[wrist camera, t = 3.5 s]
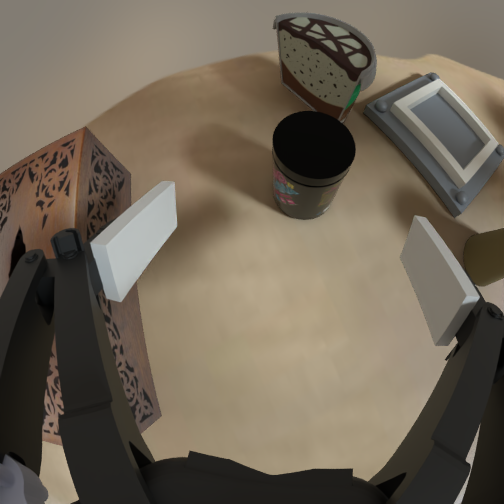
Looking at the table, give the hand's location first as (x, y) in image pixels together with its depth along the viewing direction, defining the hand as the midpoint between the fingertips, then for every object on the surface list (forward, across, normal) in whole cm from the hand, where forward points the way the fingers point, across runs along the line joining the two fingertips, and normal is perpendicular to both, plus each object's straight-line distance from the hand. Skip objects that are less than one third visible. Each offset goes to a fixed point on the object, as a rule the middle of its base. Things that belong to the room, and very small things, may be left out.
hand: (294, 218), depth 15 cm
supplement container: (+13, +1, -4) cm, 13 cm away
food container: (+23, +3, +6) cm, 24 cm away
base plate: (+21, +19, +5) cm, 29 cm away
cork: (+10, +23, -6) cm, 26 cm away
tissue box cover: (+3, -20, -14) cm, 25 cm away
